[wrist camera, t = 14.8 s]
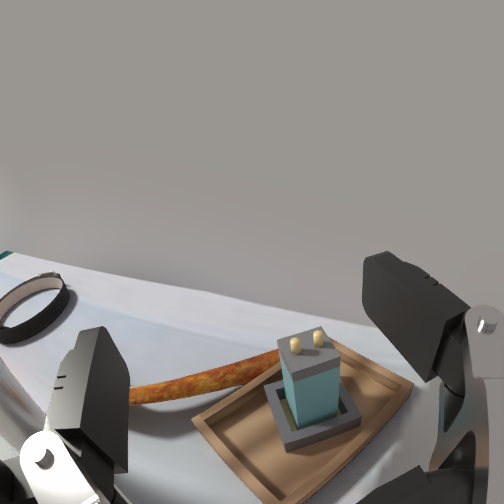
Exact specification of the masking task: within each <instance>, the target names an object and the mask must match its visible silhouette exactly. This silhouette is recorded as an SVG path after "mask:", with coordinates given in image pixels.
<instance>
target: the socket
mask: <svg viewBox="0 0 504 504" xmlns="http://www.w3.org/2000/svg"><path fill="white" fill-rule="evenodd" d="M264 390H265V394H266V397H267V400H268V403H269V406H270V409H271V412H272V415H273V418H274V421H275V424H276V426H277V429H278V432H279V435H280V438H281V441H282V443H283V446H284V449H285V452H286V453H287V452H290V451H293V450H296V449H300V448H303V447H306V446H309V445H312V444H315V443H317V442H320V441H323V440H326V439H329V438H331V437H334V436H337V435H339V434H342V433H344V432H347V431H349V430H352V429H354V428H356V427H359V426H360V424H361V419H362V415H361V413H360V411H359V409H358V408H357V406H356V404H355V403H354V401H353V399H352V398H351V396H350V394H349V393H348V391H347V389H346V388H345V386H344V384H343V383H342V381H341V379H340V383H339V399H338V407H339V408H338V413H337V417H335V418H332V419H329V420H327V421H324V422H321V423H318V424H315V425H312V426H309V427H306V428H303V429H300V430H298V429H297V427H296V424H295V422H294V419H293V417H292V415H291V412H290V410H289V407H288V405H287V400H286V393H285V387H284V381H283V380H281V381H278V382H274V383H271V384H267V385H264ZM284 398H285V399H284ZM339 409H340V410H341V412H342V413H341V412H340V410H339Z"/></svg>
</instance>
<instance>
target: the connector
mask: <svg viewBox="0 0 504 504" xmlns="http://www.w3.org/2000/svg"><path fill="white" fill-rule="evenodd" d="M277 343H278V349H279V356H280V362H281V368H282V374H283V381H284V387H285V393H286V400H287V405H288V407H289V410H290V412H291V415H292V417H293V419H294V422H295V424H296V427H297V429H298V430H300V429H303V428H306V427H309V426H312V425H315V424H318V423H321V422H324V421H327V420H329V419H332V418H335V417H337V413H338V399H339V383H340V360H341V356H340V354H339V353H338V351H337V350H336V348H335V347H334V345H333V344H332V342H331V341H330V339H329V338H328V336H327V335H326V333H325V331H324V330H323V328H322V327H321V326H320V327H317V328H314V329H311V330H308V331H305V332H302V333H298V334H295V335H292V336H288V337H285V338H282V339H278V340H277Z"/></svg>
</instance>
